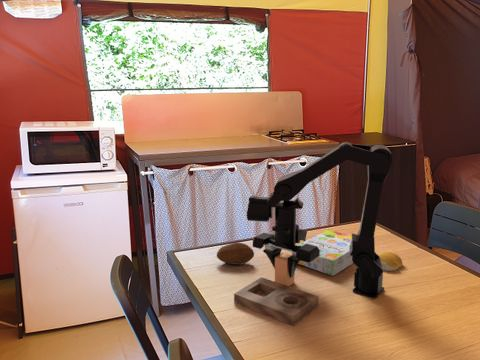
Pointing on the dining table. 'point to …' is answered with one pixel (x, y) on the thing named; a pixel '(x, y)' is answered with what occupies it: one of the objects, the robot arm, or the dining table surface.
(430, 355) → the dining table surface
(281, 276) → the square peg
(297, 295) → the socket board
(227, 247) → the potato
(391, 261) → the bread roll
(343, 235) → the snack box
